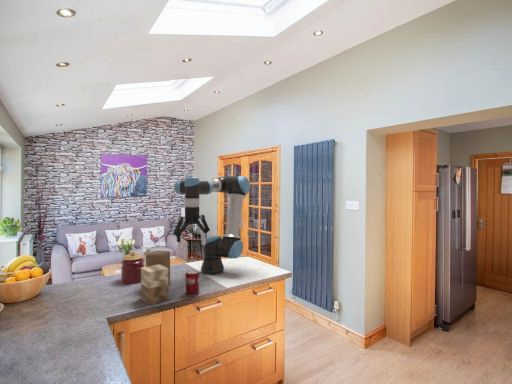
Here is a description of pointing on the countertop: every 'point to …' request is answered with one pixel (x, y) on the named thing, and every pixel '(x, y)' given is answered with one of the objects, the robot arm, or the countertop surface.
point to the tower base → (154, 294)
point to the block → (159, 260)
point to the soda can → (192, 282)
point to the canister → (132, 268)
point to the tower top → (154, 276)
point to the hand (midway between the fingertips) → (192, 246)
